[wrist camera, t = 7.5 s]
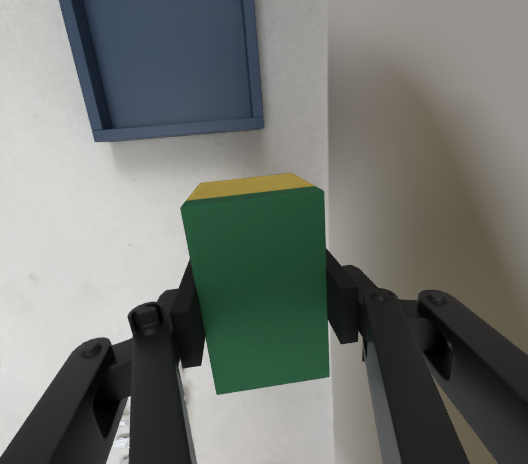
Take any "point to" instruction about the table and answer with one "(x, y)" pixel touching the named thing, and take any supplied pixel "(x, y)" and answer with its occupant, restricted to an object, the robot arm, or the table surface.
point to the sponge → (260, 279)
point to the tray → (166, 66)
